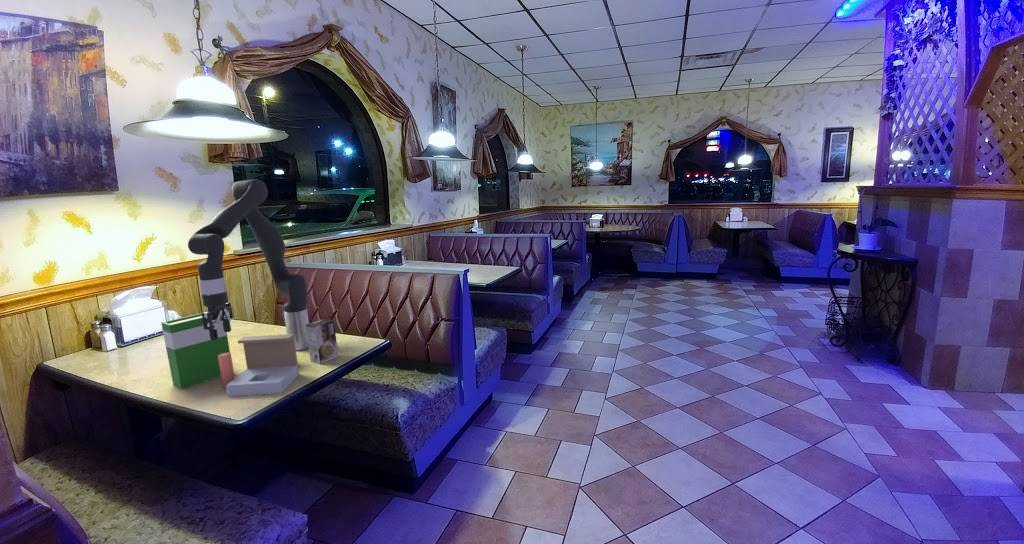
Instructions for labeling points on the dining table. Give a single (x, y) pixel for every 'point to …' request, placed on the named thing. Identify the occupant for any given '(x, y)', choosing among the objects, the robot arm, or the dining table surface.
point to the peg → (226, 368)
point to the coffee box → (322, 341)
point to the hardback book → (193, 350)
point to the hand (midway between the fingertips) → (221, 335)
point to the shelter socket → (266, 365)
